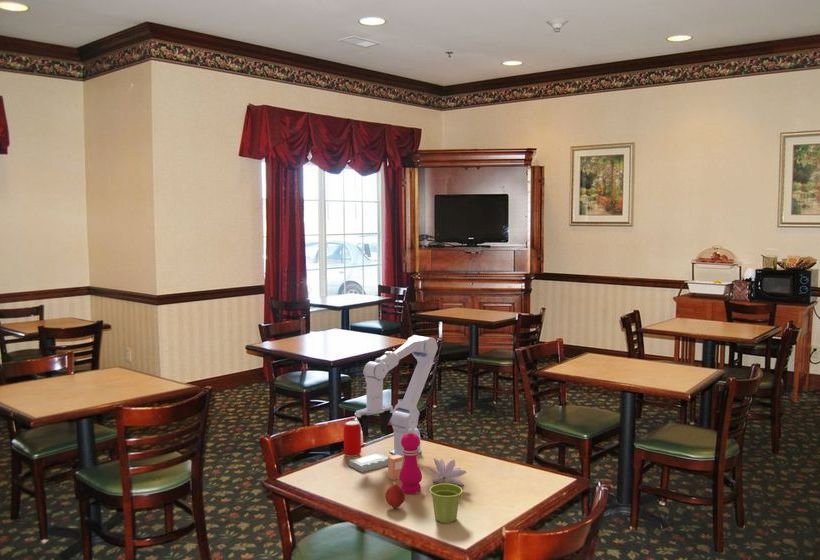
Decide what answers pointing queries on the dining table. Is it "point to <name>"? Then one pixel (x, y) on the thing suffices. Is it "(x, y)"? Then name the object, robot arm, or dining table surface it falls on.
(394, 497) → the onion
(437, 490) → the plant pot
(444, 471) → the water lily
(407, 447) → the pepper mill
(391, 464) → the stub tab
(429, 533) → the dining table surface
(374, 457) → the pad
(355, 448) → the beverage can
